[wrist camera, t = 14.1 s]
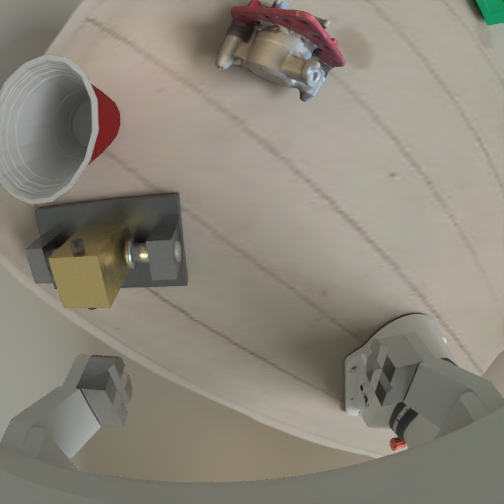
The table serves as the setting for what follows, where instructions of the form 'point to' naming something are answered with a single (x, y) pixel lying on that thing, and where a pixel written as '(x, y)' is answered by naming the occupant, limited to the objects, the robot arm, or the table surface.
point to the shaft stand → (137, 233)
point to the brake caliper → (281, 46)
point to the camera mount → (492, 10)
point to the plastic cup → (51, 128)
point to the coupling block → (91, 266)
